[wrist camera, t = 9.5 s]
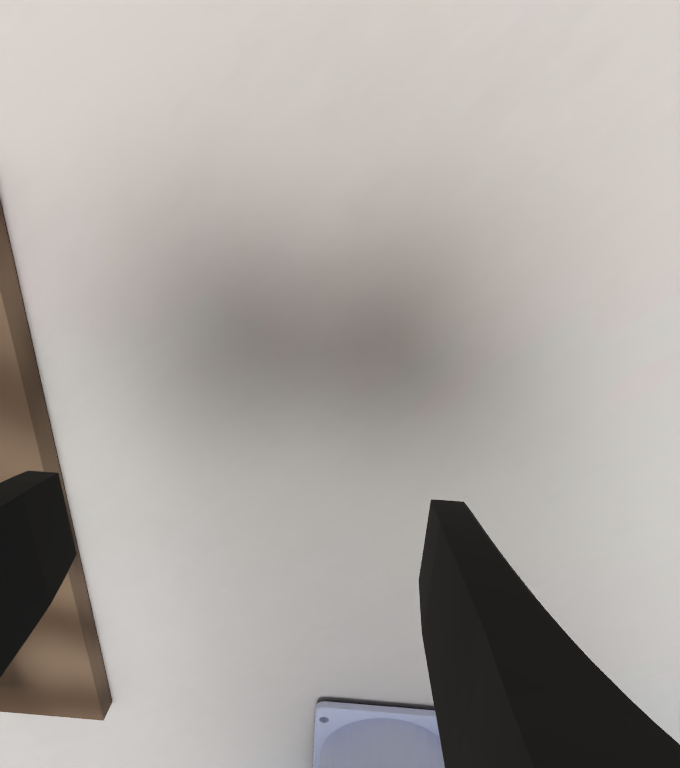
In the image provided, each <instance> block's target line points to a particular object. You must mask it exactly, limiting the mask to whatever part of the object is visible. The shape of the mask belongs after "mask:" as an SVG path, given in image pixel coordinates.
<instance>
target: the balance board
mask: <svg viewBox="0 0 680 768" xmlns="http://www.w3.org/2000/svg"><path fill="white" fill-rule="evenodd" d="M26 471H41V472H55V473H59V477H60V482H61V486H62V490H63V495H64V499H65V504H66V508H67V513H68V517H69V521H70V526H71V530H72V535H73V539H74V544H75V548H76V553H77V555H76V557H75V559H74V561H73V563H72V565H71V567H70V569H69V571H68V573H67V575H66V577H65V579H64V581H63V583H62V584H61V586H60V588H59V590H58V592H57V594H56V596H55V597H54V599H53V601H52V603H51V604H50V606H49V607H48V609H47V611H46V612H45V614H44V615H43V617H42V618H41V619H40V621H39V622H38V624H37V625H36V627H35V628H34V630H33V631H32V633H31V634H30V636H29V637H28V639H27V640H26V641H25V643H24V644H23V646H22V647H21V649H20V650H19V652H18V653H17V654H16V656H15V657H14V659H13V660H12V662H11V663H10V664H9V666H8V667H7V669H6V670H5V672H4V673H3V675H2V676H1V677H0V711H1V712H12V713H24V714H36V715H47V716H59V717H70V718H82V719H94V720H104V718H105V716H106V714H107V712H108V710H109V708H110V705H111V703H112V700H111V695H110V691H109V686H108V682H107V677H106V673H105V668H104V664H103V659H102V655H101V650H100V646H99V641H98V637H97V632H96V628H95V624H94V619H93V615H92V610H91V606H90V601H89V597H88V592H87V588H86V583H85V579H84V574H83V570H82V565H81V561H80V556H79V552H78V547H77V543H76V538H75V534H74V529H73V525H72V520H71V516H70V511H69V507H68V502H67V498H66V494H65V489H64V485H63V480H62V476H61V471H60V467H59V462H58V458H57V453H56V449H55V444H54V440H53V435H52V431H51V426H50V422H49V417H48V413H47V408H46V404H45V399H44V395H43V390H42V386H41V381H40V377H39V372H38V368H37V364H36V359H35V355H34V350H33V346H32V341H31V337H30V332H29V328H28V323H27V319H26V314H25V310H24V305H23V301H22V296H21V292H20V287H19V283H18V278H17V274H16V269H15V265H14V260H13V256H12V251H11V247H10V242H9V238H8V234H7V229H6V225H5V220H4V216H3V211H2V207H1V202H0V483H1V482H3V481H5V480H7V479H9V478H11V477H14V476H16V475H18V474H21V473H23V472H26Z"/></svg>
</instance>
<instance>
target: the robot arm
mask: <svg viewBox="0 0 680 768" xmlns="http://www.w3.org/2000/svg"><path fill="white" fill-rule="evenodd" d="M76 555H77V553H76V548H75V544H74V539H73V535H72V530H71V526H70V521H69V517H68V513H67V508H66V504H65V499H64V495H63V490H62V486H61V482H60V477H59V473H55V472H41V471H26V472H23V473H21V474H18V475H16V476H14V477H11V478H9V479H7V480H5V481H3V482H1V483H0V677H1V676H2V675H3V673H4V672H5V670H6V669H7V667H8V666H9V664H10V663H11V662H12V660H13V659H14V657H15V656H16V654H17V653H18V652H19V650H20V649H21V647H22V646H23V644H24V643H25V641H26V640H27V639H28V637H29V636H30V634H31V633H32V631H33V630H34V628H35V627H36V625H37V624H38V622H39V621H40V619H41V618H42V617H43V615H44V614H45V612H46V611H47V609H48V607H49V606H50V604H51V603H52V601H53V599H54V597H55V596H56V594H57V592H58V590H59V588H60V586H61V584H62V583H63V581H64V579H65V577H66V575H67V573H68V571H69V569H70V567H71V565H72V563H73V561H74V559H75V557H76ZM419 591H420V610H421V625H422V636H423V642H424V648H425V654H426V660H427V666H428V672H429V678H430V684H431V689H432V695H433V701H434V707H435V710H424V709H412V708H400V707H388V706H376V705H364V704H352V703H340V702H329V701H322V702H319V703H318V704H316V708H315V727H314V751H313V768H680V745H679V744H678V743H677V742H676V741H675V740H674V739H673V738H672V737H670V736H669V735H668V734H667V733H666V732H665V731H664V730H663V729H661V728H660V727H659V726H658V725H657V724H656V723H655V722H654V721H653V720H652V719H650V718H649V717H648V716H647V715H646V714H645V713H644V712H643V711H642V710H641V709H640V708H639V707H638V706H637V705H635V704H634V703H633V702H632V701H631V700H630V699H629V698H628V697H627V696H626V695H625V694H624V693H623V692H622V691H621V690H620V689H619V688H618V687H617V686H616V685H615V684H614V683H613V682H612V681H611V680H610V679H609V678H608V677H607V676H606V675H605V674H604V673H603V672H602V671H601V670H600V669H599V668H598V667H597V666H596V665H595V664H594V663H593V662H592V661H591V660H590V659H589V658H588V657H587V656H586V655H585V653H584V652H583V651H582V650H581V649H580V648H579V647H578V646H577V645H576V644H575V643H574V641H573V640H572V639H571V638H570V637H569V636H568V635H567V634H566V632H565V631H564V630H563V629H562V628H561V627H560V626H559V624H558V623H557V622H556V621H555V620H554V619H553V618H552V616H551V615H550V614H549V613H548V612H547V611H546V609H545V608H544V607H543V606H542V605H541V603H540V602H539V601H538V600H537V599H536V597H535V596H534V595H533V594H532V592H531V591H530V590H529V589H528V587H527V586H526V585H525V584H524V582H523V581H522V580H521V579H520V577H519V576H518V575H517V574H516V572H515V571H514V570H513V569H512V567H511V566H510V565H509V563H508V562H507V561H506V559H505V558H504V557H503V555H502V554H501V553H500V551H499V550H498V549H497V547H496V546H495V544H494V543H493V542H492V540H491V539H490V538H489V536H488V535H487V533H486V532H485V531H484V529H483V528H482V526H481V525H480V523H479V522H478V521H477V519H476V518H475V516H474V515H473V513H472V512H471V511H470V509H469V508H468V506H467V505H466V504H465V503H464V502H459V501H445V500H431V504H430V510H429V517H428V523H427V530H426V537H425V543H424V550H423V556H422V563H421V569H420V576H419Z"/></svg>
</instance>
